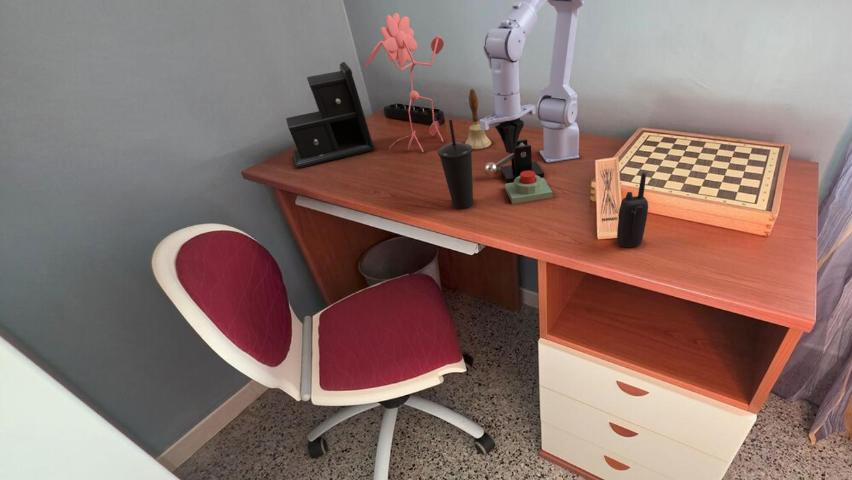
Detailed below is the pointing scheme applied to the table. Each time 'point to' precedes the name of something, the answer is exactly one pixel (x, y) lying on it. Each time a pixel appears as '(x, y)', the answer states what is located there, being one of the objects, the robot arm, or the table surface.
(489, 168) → the tap lever
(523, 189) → the button box
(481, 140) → the hand bell
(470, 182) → the drinking cup
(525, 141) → the black lever mount
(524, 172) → the button
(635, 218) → the two-way radio
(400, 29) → the figurine
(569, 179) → the table surface
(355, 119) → the black drawer organizer
